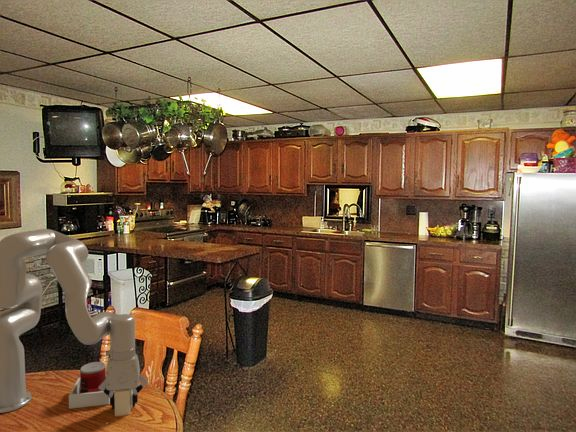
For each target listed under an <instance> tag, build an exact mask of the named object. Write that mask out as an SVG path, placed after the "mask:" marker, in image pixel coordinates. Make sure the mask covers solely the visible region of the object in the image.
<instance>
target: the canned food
mask: <svg viewBox="0 0 576 432" xmlns="http://www.w3.org/2000/svg"><path fill="white" fill-rule="evenodd" d="M79 372H80V373H79V375H80V377H79V378H81V391H80V393H89V392H99V391H102V390H100V389H99V388H98V387H99V385H100V384H101V383H102V382H103V380H104V379H105V378H106V364H105V362H103V361H93V362H89V363H86V364H83V365H82V366H81V367H80V370H79ZM105 386H106V385H105Z"/></svg>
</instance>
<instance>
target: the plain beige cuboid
mask: <svg viewBox="0 0 576 432" xmlns="http://www.w3.org/2000/svg"><path fill="white" fill-rule="evenodd" d="M132 395H133V391H132V389H126V390H115V391H114V397H115V409H114V417H121V416H130V415H131V411H132V408H133V407H132Z"/></svg>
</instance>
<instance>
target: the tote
mask: <svg viewBox="0 0 576 432" xmlns="http://www.w3.org/2000/svg"><path fill="white" fill-rule="evenodd" d="M107 405H110V398H109V397H108V395H107V394H105V393H104V392H103V391H99V392H89V393H81V378H80V377H78V378H77V380H76V382H75V384H74V386H73V387H72V389H71V390H70V393H69V394H68V409H78V408H80V409H81V408H87V407H88V408H89V407H96V406H97V407H98V406H107Z"/></svg>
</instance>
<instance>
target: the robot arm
mask: <svg viewBox="0 0 576 432" xmlns="http://www.w3.org/2000/svg"><path fill="white" fill-rule="evenodd" d="M41 255H45V259H46V262H47V264H48V266H49V267H50V269H51V271H52V273H53V275H54V277H55V278H56V280H57V282H58V283H59V285H60V287H61V289H62V291H63V292H64V295H65V301H64V302H65V303H64V306H65V307H64V308H65V318H66V320H67V324H68V326H69V327H70V330H71V331H72V332H73V334H74V337H76V339H77V340H78V341H79V342H80V343H81V344H83V345H87V346H90V345H94V344H97V343H98V342H100V341H102V339H104V338H105V337H107V336H109V341H110V342H109V343H110V344H109V347H110V349H108V350H106V351H105V356H109V357H108V359H107V363H106V368H105V374H106V378H105V379H104V380H103V382H102V383H101V384H100V385H99V387H98V388H99V389H100V390H102V391H103V392H104V393H105V394H107V395H108V397H109V398H110V404H109V406H110V407H111V410H115V397H114V392H115V390H126V389H132V391H133V395H132V408H135V407H136V404H138V397H139V396H138V395H139V393H140V392H141V390H142V389H143V388H145V386H147V384H148V383H149V380H148V378H146V377H145V376H144V375H142V374H141V369H140V360H139V357H138V354H137V353H136V321H135V317H134V316H133V315H132V314H127V313H123V314H122V313H121V314H118V313H113V312H108V311H103V312H100V313H97V314H96V315H93V316H91V314H90V312H89V309H88V305H87V299H88V294H89V292H90V289H91V287H92V283H93V281H92V279H91V277H90V275H89V273H88V271H87V270H86V267H84V265H83V263H85V261H87V259H88V257H89V250H88V248H87V246H86V244H84V242H82V241H81V240H79V239H77V238H75V237H72V236H69V235H67V234H64V233H62V232H59V231H56V230H53V229H49V228H48V229H47V228H41V229H40V228H39V229H34V230H28V231H27V230H26V231H21V232H17V233H16V232H15V233H11V234H9V235H6V236H4V237H3V238H2V239H0V310H3V311H0V414H4V413H8V412H13V411H15V410H19V409H20V408H22V407H24V406H25V405H27V404H28V403H30V401H31V400H32V393H31V392H29V391H27V387H26V361H25V360H26V359H25V347H24V345H23V343H22V341H21V340H20V336H21V335H23V334H24V333H26V332H28V331H31V329H33V328H35V327H36V326H37V325H38V323H39V321H40V318H41V310H42V303H43V302H42V301H43V292H44V289H43V284H42V282H41V280H40V279H39V277H38V276H36V275H35V274H29V273H27V270H28V269H27V264H26V261H25V259H28V258H33V257H38V256H41ZM140 382H141V383H140ZM105 385H106V386H105Z"/></svg>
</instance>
